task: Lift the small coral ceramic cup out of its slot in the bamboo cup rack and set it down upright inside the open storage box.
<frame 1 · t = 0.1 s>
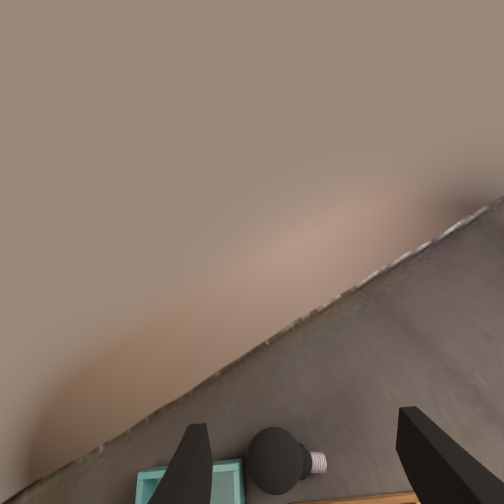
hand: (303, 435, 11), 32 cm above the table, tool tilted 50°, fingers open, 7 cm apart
light bulb: (284, 454, 37), on the table
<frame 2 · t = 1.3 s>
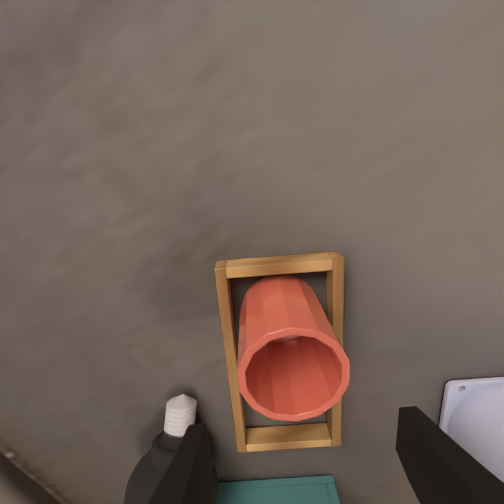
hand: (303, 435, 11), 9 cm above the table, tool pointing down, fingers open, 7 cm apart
cup: (279, 309, 20), resting in cup rack
cup rack: (282, 353, 21), on the table
light bulb: (180, 435, 23), on the table
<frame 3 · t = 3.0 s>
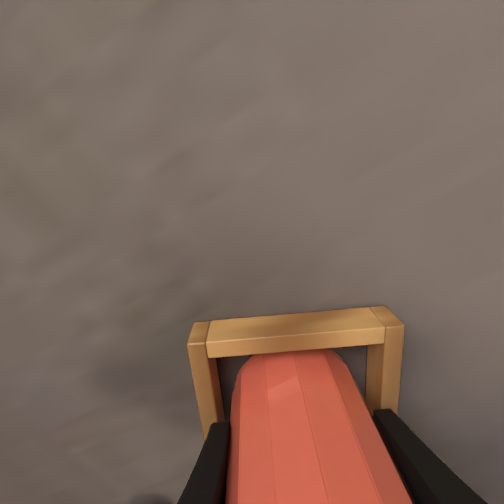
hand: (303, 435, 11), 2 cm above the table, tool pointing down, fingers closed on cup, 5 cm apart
cup: (293, 390, 13), resting in cup rack, touching gripper
cup rack: (296, 449, 14), on the table
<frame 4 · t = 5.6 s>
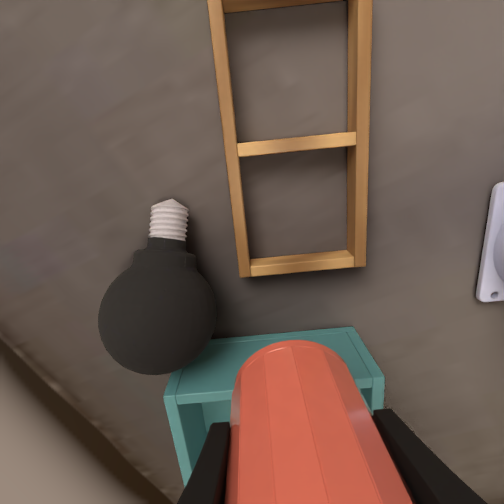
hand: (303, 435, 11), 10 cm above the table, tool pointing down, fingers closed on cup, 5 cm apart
cup: (293, 390, 13), point 8 cm above the table, touching gripper
open storage box: (273, 396, 23), on the table
cup rack: (292, 145, 17), on the table
light bulb: (171, 273, 20), on the table
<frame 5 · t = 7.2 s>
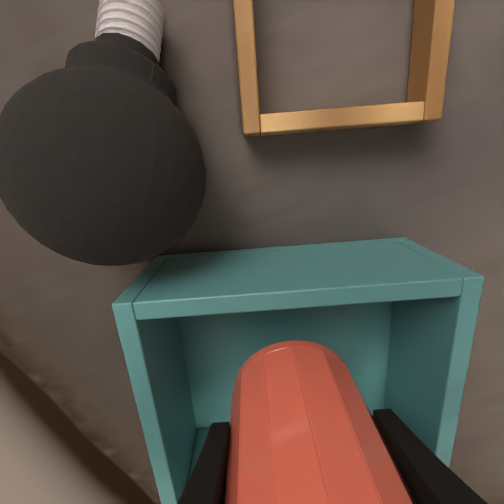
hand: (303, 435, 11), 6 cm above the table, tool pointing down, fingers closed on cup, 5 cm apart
cup: (293, 390, 13), point 3 cm above the table, touching gripper
open storage box: (285, 343, 16), on the table
light bulb: (139, 142, 13), on the table
when the fingers open (3 cm above the table, at t = 8.5 s): cup stays where it is, resting on open storage box.
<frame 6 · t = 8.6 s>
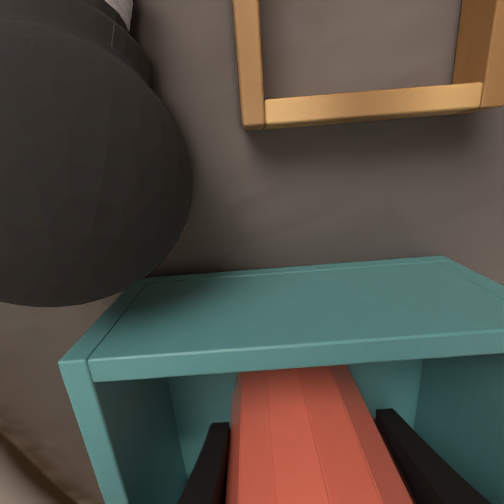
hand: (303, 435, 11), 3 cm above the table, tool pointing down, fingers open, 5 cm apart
cup: (293, 391, 13), point 1 cm above the table, touching open storage box
open storage box: (292, 381, 13), on the table
light bulb: (110, 137, 10), on the table
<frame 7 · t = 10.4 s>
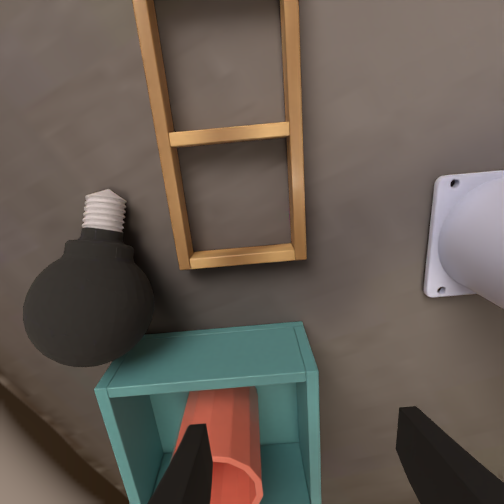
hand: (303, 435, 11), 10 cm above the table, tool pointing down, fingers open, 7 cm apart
cup: (223, 398, 22), point 1 cm above the table, touching open storage box
open storage box: (224, 392, 22), on the table
cup rack: (230, 136, 17), on the table
light bulb: (114, 265, 19), on the table
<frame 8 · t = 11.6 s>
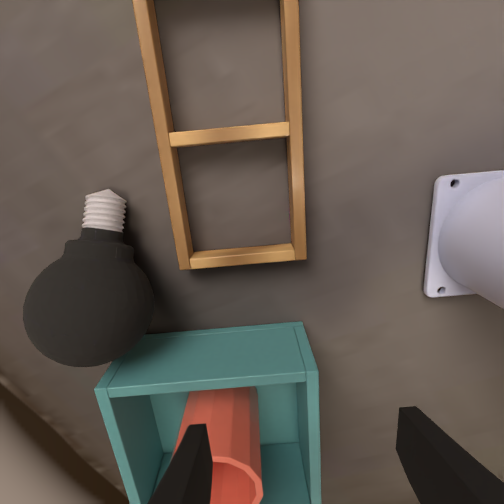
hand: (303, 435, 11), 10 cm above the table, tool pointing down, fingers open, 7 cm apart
cup: (223, 398, 22), point 1 cm above the table, touching open storage box
open storage box: (224, 392, 22), on the table
cup rack: (230, 136, 17), on the table
light bulb: (114, 265, 19), on the table
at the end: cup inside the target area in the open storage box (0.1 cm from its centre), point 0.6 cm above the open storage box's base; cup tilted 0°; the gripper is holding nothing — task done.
